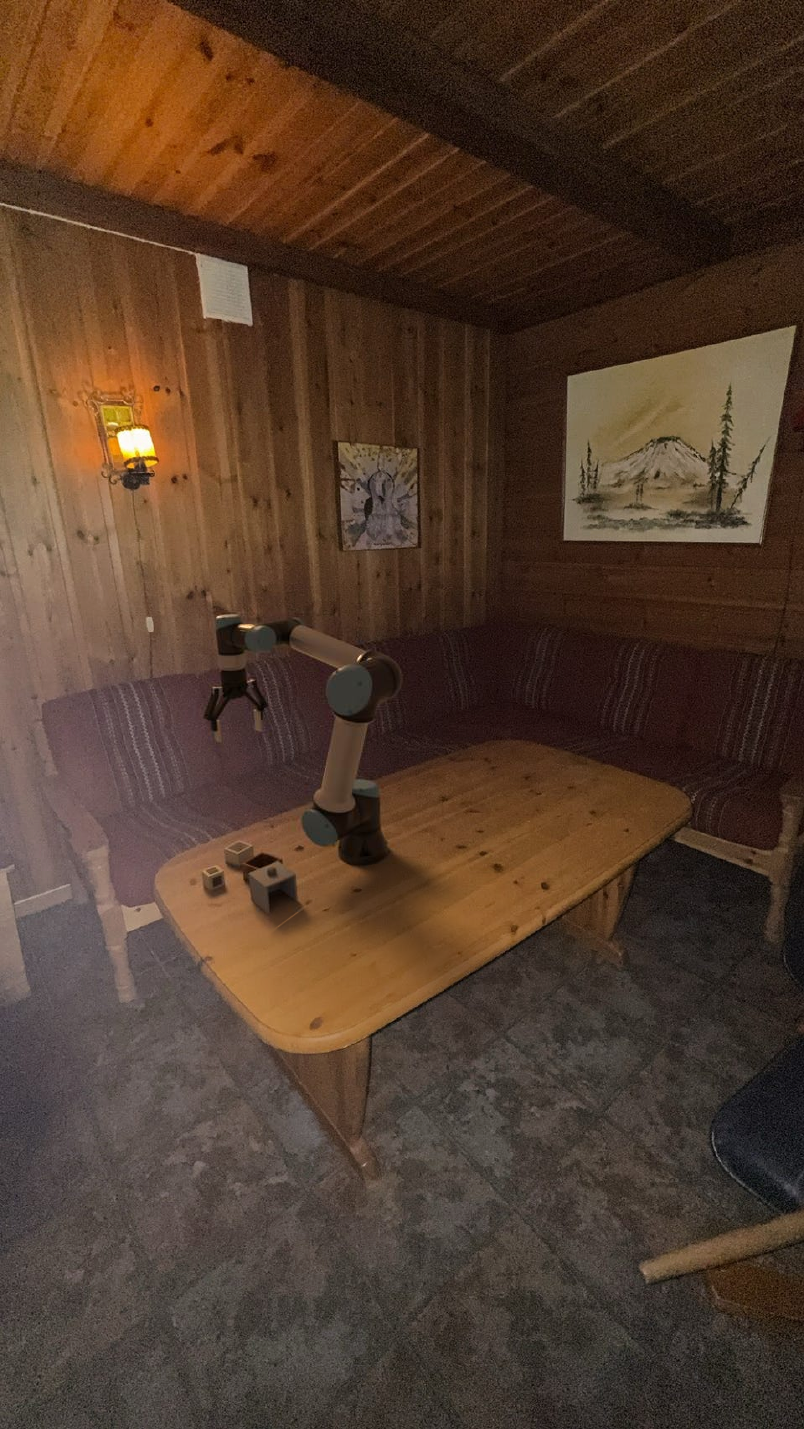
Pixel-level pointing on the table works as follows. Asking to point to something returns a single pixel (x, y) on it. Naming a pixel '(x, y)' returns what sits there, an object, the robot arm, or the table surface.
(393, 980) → the table surface
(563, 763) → the table surface
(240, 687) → the robot arm
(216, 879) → the cream boxy hollow piece
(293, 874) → the cover
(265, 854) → the walnut bin
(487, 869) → the table surface
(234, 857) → the beige tub
